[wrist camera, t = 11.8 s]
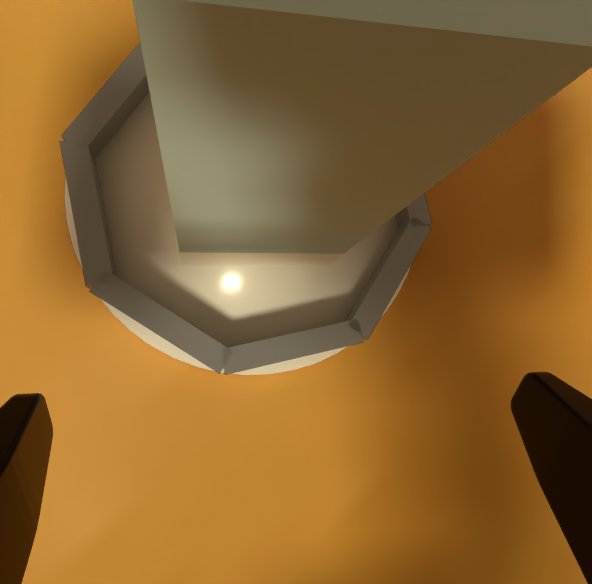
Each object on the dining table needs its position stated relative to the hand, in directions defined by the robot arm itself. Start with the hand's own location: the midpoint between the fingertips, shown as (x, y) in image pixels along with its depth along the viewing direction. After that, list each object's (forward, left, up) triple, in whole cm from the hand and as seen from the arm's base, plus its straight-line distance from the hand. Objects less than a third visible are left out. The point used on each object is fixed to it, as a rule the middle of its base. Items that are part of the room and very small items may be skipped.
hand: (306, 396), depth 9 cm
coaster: (+6, -1, -8) cm, 10 cm away
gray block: (+6, -1, -7) cm, 10 cm away
